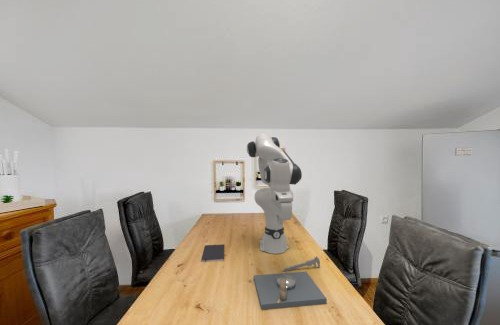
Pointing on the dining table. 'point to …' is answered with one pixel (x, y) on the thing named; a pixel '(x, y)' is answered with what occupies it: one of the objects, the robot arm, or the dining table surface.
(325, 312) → the dining table surface
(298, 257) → the dining table surface
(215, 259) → the notebook
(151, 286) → the dining table surface
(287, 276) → the wooden knob lever
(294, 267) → the caliper
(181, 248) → the dining table surface
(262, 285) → the base plate
